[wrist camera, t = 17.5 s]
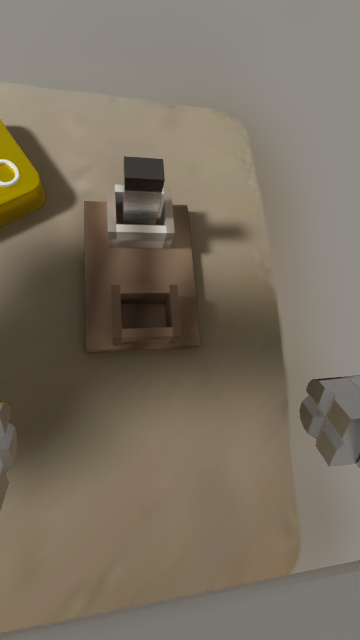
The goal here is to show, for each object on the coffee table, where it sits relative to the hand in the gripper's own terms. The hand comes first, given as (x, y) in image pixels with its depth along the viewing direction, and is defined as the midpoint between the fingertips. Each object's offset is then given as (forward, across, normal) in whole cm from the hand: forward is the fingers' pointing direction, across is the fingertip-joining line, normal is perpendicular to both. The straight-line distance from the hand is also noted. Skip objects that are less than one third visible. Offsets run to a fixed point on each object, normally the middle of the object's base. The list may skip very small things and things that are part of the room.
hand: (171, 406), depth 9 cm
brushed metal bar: (+38, -2, +4) cm, 38 cm away
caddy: (+34, -2, +10) cm, 36 cm away
